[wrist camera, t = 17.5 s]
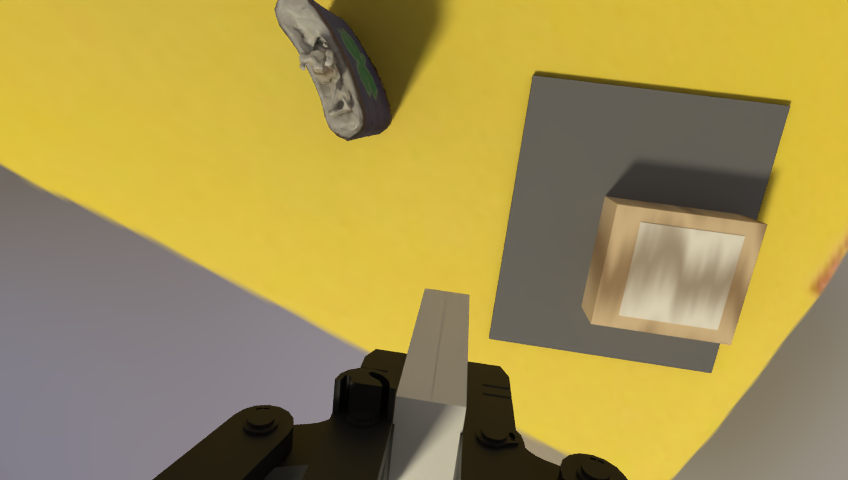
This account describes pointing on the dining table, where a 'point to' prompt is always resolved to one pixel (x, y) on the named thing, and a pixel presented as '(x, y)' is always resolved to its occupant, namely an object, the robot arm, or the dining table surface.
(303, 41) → the flask
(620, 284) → the oak tile
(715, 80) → the dining table surface
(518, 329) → the mat
